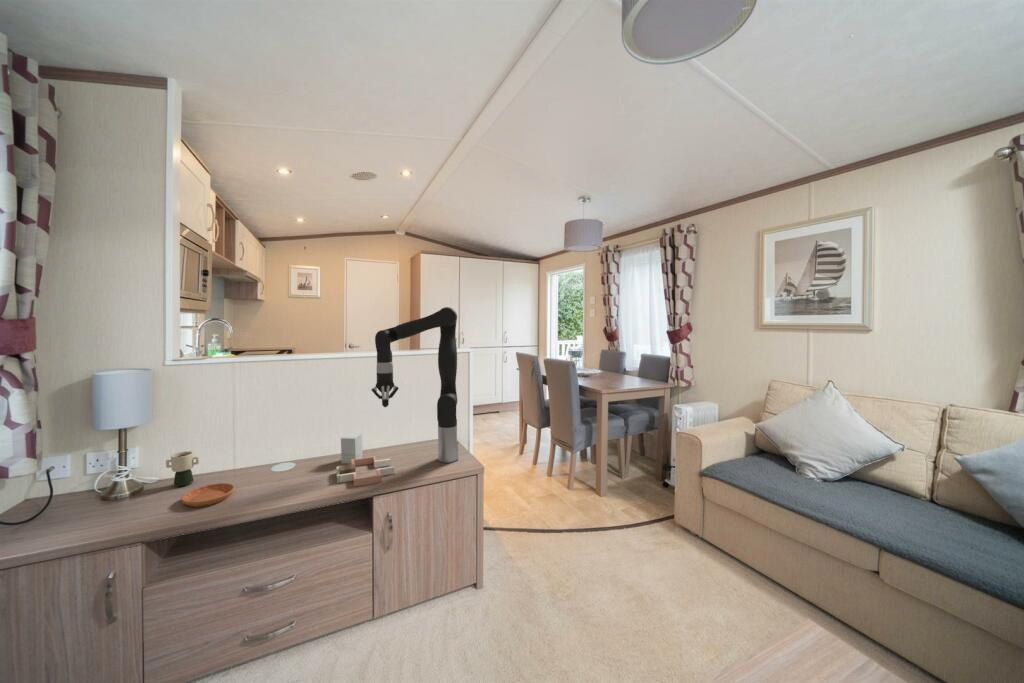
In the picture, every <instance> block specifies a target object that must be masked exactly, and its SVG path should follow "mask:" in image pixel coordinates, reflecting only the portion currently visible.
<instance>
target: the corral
mask: <svg viewBox="0 0 1024 683" xmlns="http://www.w3.org/2000/svg"><path fill="white" fill-rule="evenodd" d="M353 463H354V464H355V467H356V466H363V465H372V464H373V467H374V469H376V474H373V475H365V476H361V477H357V476H358V475H357V472H354V473H347V474H341V475H340V466H341V465H339V466H336V484H340V483H347V482H352V481H353V486H354V487H358V486H359V487H360V486H366V485H371V484H376V483H381V482H383V481H382V477H383V476H388V475H395V466H394V465H393V466H392V458H385V459H377V457H376V455H373V456H365V457H363V458H357V459H351V464H353Z"/></svg>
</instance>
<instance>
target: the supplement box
mask: <svg viewBox="0 0 1024 683" xmlns="http://www.w3.org/2000/svg"><path fill="white" fill-rule="evenodd" d="M340 451H341V452H340V453H341V454H340V455H341V464H345V465H347V464H351V459H357V458H364V457H363V456H364V454H363V433H347V434H346V435H344V436H342V437H341V438H340Z"/></svg>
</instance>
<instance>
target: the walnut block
mask: <svg viewBox="0 0 1024 683" xmlns="http://www.w3.org/2000/svg"><path fill="white" fill-rule="evenodd" d="M339 466H340V475H341V474H347V473H354V472H356V469H357V468H356V466H355V464H354V463H353V464H342V465H341V464H340V465H339ZM356 473H357V472H356Z"/></svg>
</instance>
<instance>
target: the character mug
mask: <svg viewBox="0 0 1024 683" xmlns="http://www.w3.org/2000/svg"><path fill="white" fill-rule="evenodd" d="M198 464H200V457H199V456H194V451H192V450H191V451H189V450H188V451H187V450H186V451H181V452H177V453H173V454H171V456H170V459H166V460H165V468H168V469H169V468H171V471H172V472H174V480H173V486H174V487H184V486H186V485H189V484H192V482H194V475H193V472H192V469H193V467H194V465H198Z"/></svg>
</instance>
